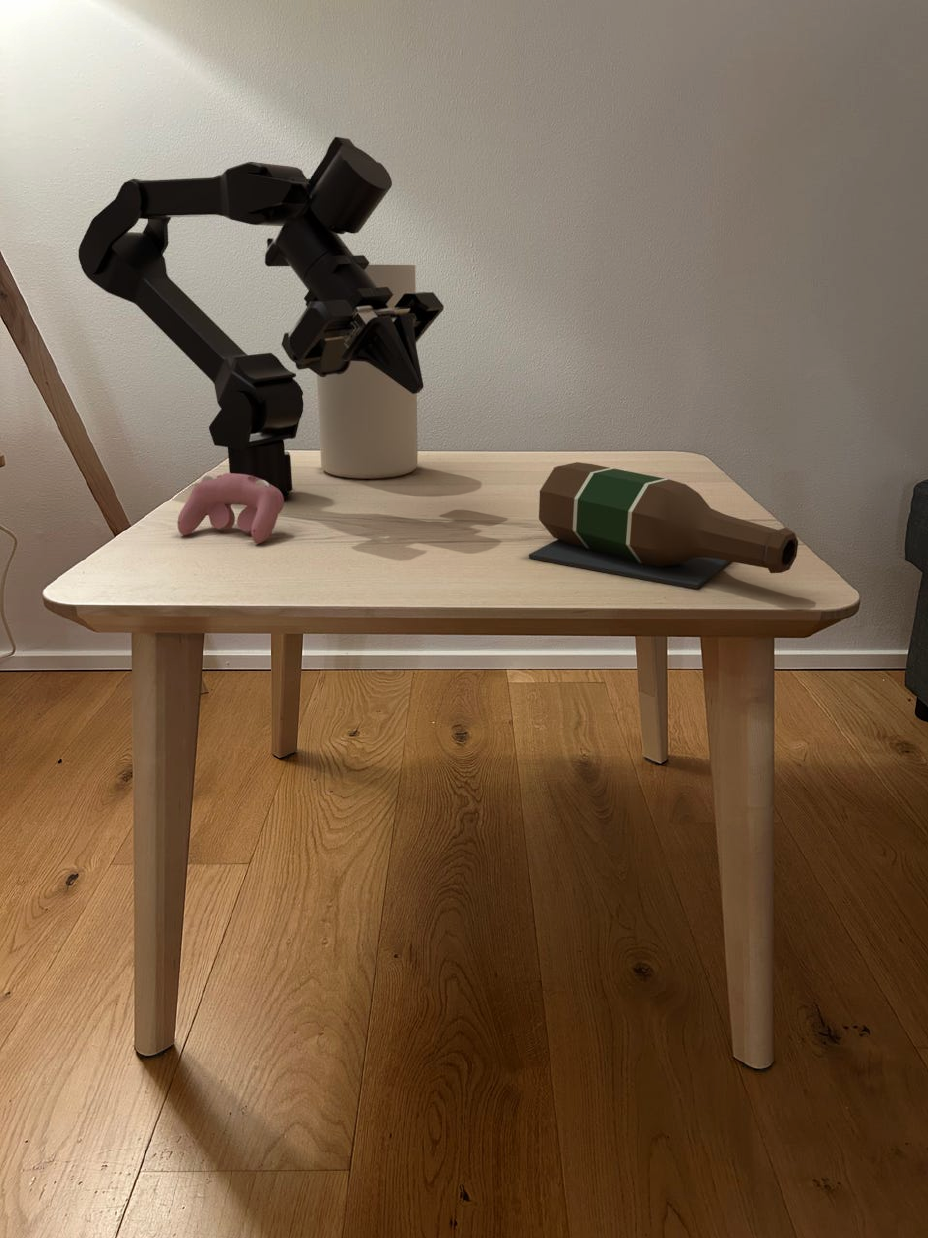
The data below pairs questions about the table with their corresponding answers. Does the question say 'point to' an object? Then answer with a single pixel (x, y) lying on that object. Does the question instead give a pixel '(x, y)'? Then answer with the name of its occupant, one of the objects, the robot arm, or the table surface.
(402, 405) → the cylinder vase
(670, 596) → the table surface
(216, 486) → the video game controller
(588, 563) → the mat
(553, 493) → the beer bottle
